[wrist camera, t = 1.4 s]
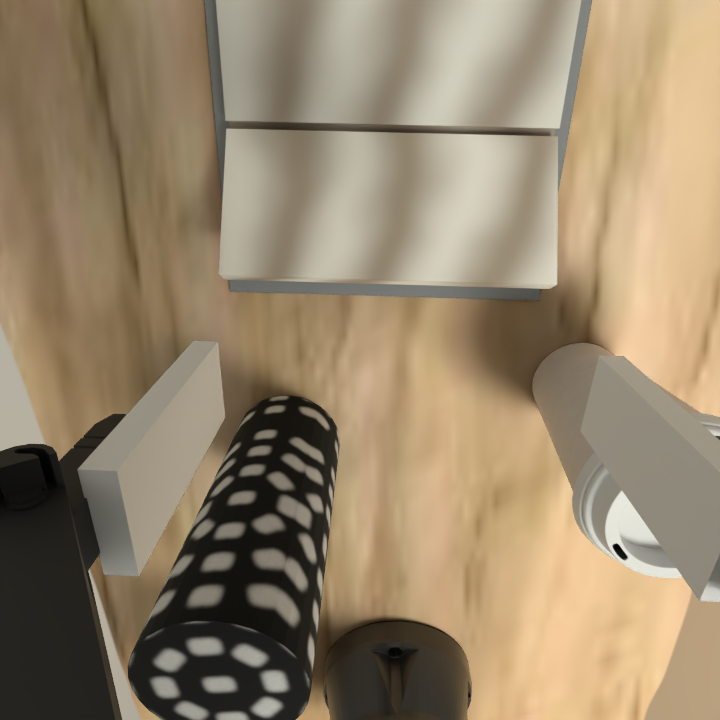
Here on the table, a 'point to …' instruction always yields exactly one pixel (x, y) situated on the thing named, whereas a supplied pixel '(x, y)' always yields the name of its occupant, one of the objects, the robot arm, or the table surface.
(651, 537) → the coffee cup
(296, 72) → the laid board
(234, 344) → the table surface
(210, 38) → the underlay
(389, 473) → the table surface
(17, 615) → the robot arm
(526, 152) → the plank
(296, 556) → the spotted tube
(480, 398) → the table surface
